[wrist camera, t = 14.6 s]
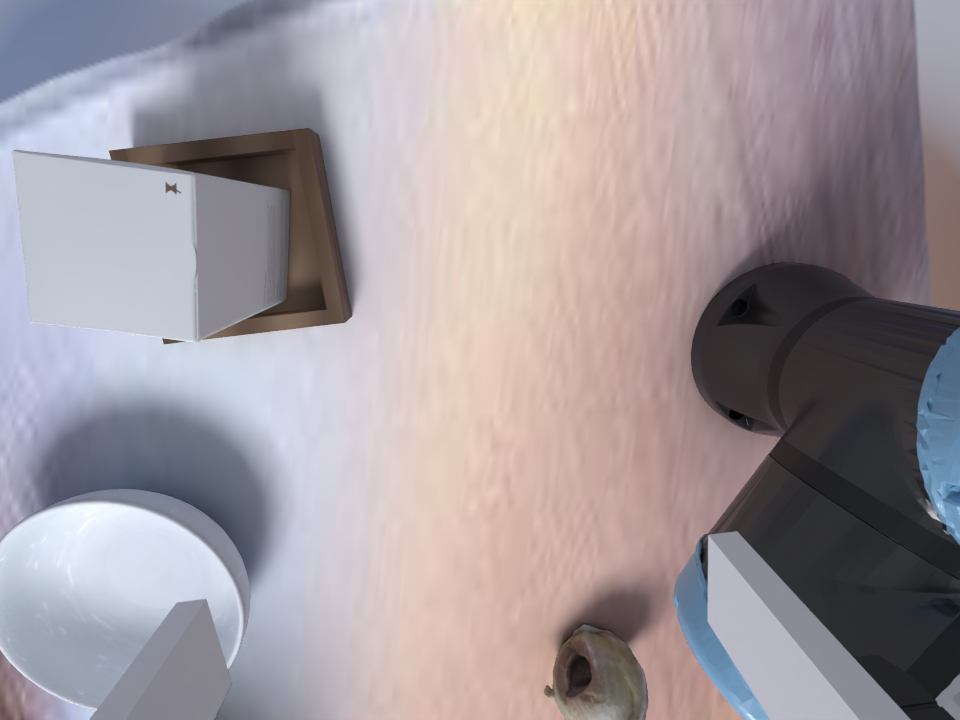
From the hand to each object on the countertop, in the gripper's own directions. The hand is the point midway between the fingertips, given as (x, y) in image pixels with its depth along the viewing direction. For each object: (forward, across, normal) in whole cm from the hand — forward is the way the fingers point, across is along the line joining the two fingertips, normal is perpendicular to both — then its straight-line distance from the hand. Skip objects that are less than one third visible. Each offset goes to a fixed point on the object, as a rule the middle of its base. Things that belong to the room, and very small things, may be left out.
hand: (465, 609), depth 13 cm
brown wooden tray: (+32, +16, -10) cm, 37 cm away
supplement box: (+31, +17, -11) cm, 37 cm away
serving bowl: (+32, +31, +18) cm, 48 cm away
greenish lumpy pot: (+32, -9, +35) cm, 48 cm away
